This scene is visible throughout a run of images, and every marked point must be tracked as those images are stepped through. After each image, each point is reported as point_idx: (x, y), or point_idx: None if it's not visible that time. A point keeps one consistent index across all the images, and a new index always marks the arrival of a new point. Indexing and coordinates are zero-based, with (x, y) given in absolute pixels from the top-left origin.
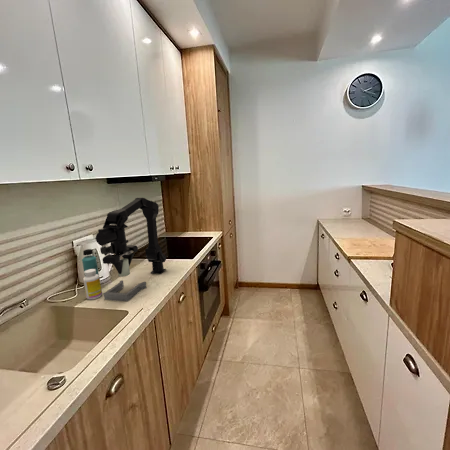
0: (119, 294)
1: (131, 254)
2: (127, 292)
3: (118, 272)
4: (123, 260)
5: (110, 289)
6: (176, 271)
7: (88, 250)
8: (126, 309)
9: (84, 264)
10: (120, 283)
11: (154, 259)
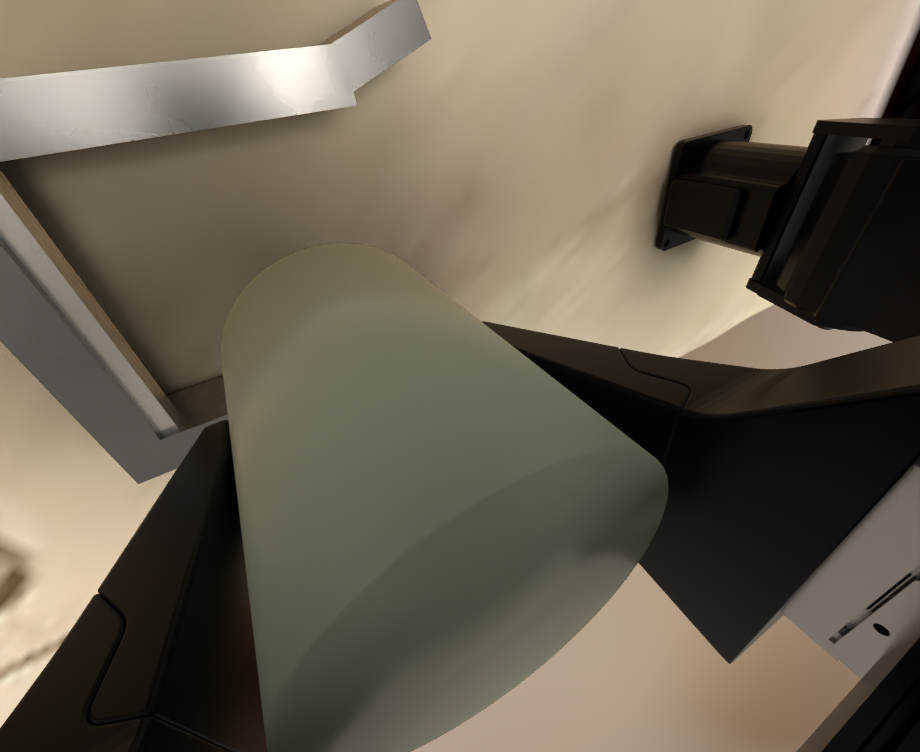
0: (72, 405)
1: (779, 617)
2: (189, 432)
3: (192, 459)
4: (497, 656)
5: (46, 104)
6: (675, 318)
7: None
8: (32, 547)
9: None
10: (328, 97)
11: (796, 261)
